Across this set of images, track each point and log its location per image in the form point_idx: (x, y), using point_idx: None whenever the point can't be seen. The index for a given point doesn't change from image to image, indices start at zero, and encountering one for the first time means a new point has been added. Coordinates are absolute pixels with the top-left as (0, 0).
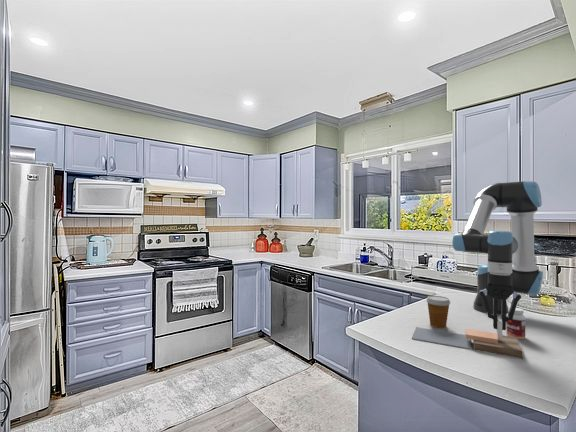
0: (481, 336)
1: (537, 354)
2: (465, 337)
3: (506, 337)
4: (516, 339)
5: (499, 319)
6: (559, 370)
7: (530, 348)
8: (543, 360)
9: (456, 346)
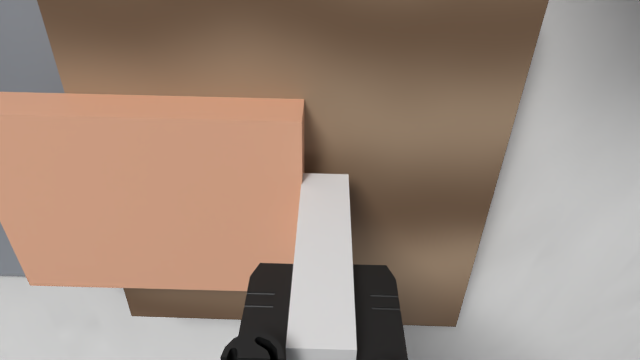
0: (162, 278)
1: (604, 169)
2: (12, 52)
3: (421, 54)
4: (520, 74)
5: (326, 351)
6: (597, 347)
7: (623, 42)
8: (583, 258)
9: None
